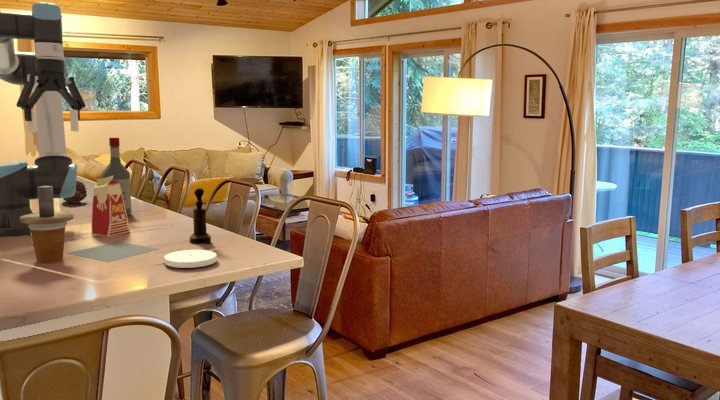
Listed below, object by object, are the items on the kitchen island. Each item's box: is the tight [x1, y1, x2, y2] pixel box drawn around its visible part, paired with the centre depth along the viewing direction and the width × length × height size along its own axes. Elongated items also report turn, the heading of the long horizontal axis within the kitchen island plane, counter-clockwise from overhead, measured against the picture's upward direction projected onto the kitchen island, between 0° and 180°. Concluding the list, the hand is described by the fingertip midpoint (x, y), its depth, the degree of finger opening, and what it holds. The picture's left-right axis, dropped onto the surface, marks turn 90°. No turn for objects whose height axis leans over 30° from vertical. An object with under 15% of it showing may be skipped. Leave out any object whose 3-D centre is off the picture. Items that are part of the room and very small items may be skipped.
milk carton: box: [91, 175, 131, 238], centre depth 200 cm, size 9×9×20 cm
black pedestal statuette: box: [189, 186, 212, 245], centre depth 190 cm, size 7×6×18 cm
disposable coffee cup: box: [28, 221, 68, 264], centre depth 165 cm, size 10×10×12 cm
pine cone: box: [62, 179, 88, 204], centre depth 260 cm, size 18×10×10 cm, turn 40°
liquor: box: [101, 137, 132, 217], centre depth 234 cm, size 9×9×30 cm
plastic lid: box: [163, 249, 218, 269], centre depth 167 cm, size 14×14×2 cm
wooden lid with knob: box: [20, 186, 74, 224], centre depth 163 cm, size 13×13×9 cm
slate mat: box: [66, 240, 159, 263], centre depth 177 cm, size 18×18×1 cm
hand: (54, 132), depth 179 cm, fingers open, 13 cm apart
